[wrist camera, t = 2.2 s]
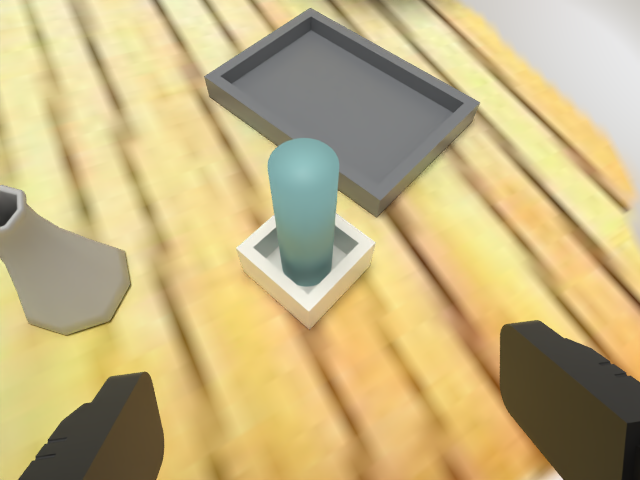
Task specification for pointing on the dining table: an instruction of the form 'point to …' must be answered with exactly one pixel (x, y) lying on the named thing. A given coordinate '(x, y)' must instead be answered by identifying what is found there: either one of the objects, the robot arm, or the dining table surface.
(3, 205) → the flask
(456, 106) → the tray
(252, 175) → the dining table surface
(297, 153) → the dowel
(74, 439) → the robot arm
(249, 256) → the tray
